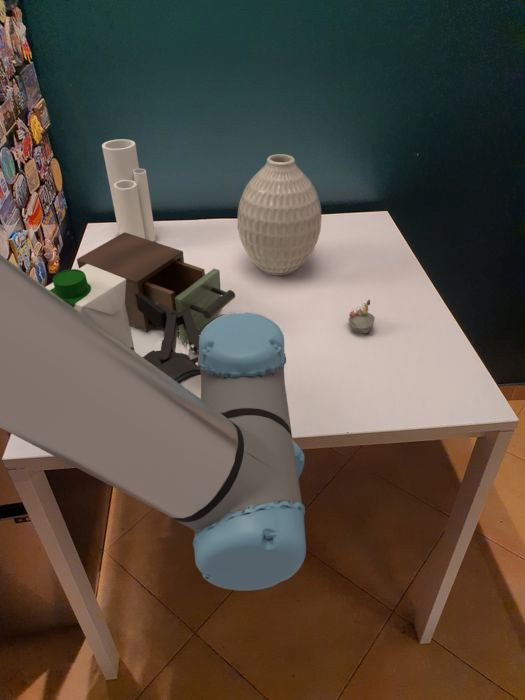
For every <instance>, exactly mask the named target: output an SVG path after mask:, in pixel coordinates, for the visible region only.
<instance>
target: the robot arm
mask: <svg viewBox="0 0 525 700" xmlns="http://www.w3.org/2000/svg"><path fill="white" fill-rule="evenodd" d="M135 296H136V301H137V307H138V310H139V311H140V312H142V313H143V314H144V315H146V316H147V317H148V318H149V319H151V320H152V321H153V322H155V323H156V326H158V327H159V328H161V329H162V330H164V333H163V339H162V340H161V344H160V350H154V349H153V350H151V351H149V352H147V353H146V354H145V355H144V356H141V355H140V354H139V353H137V352H136V350H135V351H133V350H132V349H130V348H129V347H128V346H126V345H125V344H123V343H122V342H121V341H119V340H118V339H116V338H115V337H114V336H112V335H111V334H110V333H108V332H107V331H105V330H104V329H103V328H101V327H100V326H98V325H97V324H96V323H94V322H93V321H91V320H90V319H89V318H87V317H86V316H85V315H83V314H82V313H80V312H79V311H78V310H76V309H75V308H73V307H72V306H71V305H69V304H68V303H66V302H65V301H64V300H62V299H61V298H60V297H58V296H57V295H55V294H54V293H53V292H51V291H50V290H48V289H47V288H46V286H44V285H43V284H42V283H40V282H39V281H38V280H36V279H35V278H33V277H32V276H30V275H29V274H28V273H26V272H25V271H23V269H21V268H19V267H18V266H16V265H15V264H14V263H12V262H11V261H9V260H8V259H7V258H5V257H4V256H3V255H1V254H0V429H2V430H4V431H5V432H7V433H9V434H11V435H14V436H15V437H16V438H19V439H21V440H23V441H24V442H26V443H28V444H30V445H32V446H34V447H36V448H38V449H40V450H41V451H44V452H46V453H48V454H49V455H51V456H54V457H55V458H57V459H59V460H61V461H63V462H65V463H67V464H68V465H70V466H73V467H74V468H76V469H78V470H80V471H82V472H84V473H85V474H87V475H89V476H91V477H93V478H95V479H97V480H99V481H101V482H102V483H104V484H107V485H109V486H111V487H112V488H114V489H116V490H118V491H120V492H122V493H124V494H126V495H128V496H129V497H132V498H134V499H136V500H137V501H140V502H141V503H143V504H145V505H147V506H149V507H151V508H153V509H154V510H157V511H158V512H161V513H162V514H164V515H166V516H167V517H170V518H171V519H173V520H175V521H176V522H177V523H179V524H182V525H183V526H185V527H187V528H189V529H191V530H192V531H193V532H194V537H193V540H192V548H193V550H194V563H195V566H196V568H197V569H198V571H199V572H200V573H201V576H202V578H203V579H204V580H205V581H207V582H208V583H210V584H211V585H213V586H216V587H219V588H222V589H225V590H231V591H238V592H239V591H240V592H241V591H243V592H244V591H245V592H246V591H257V590H263V589H267V588H271V587H274V586H276V585H277V584H279V583H281V582H284V581H287V580H288V579H291V577H293V576H294V575H295V574H296V573H297V572H298V571H299V570H300V569H301V567H302V566H303V563H304V562H305V559H306V554H307V541H306V528H305V527H306V526H305V514H306V508H305V504H303V501H302V494H301V486H300V481H299V479H300V477H301V474H302V472H303V470H304V467H305V462H306V460H305V459H306V458H305V453H304V452H303V449H302V448H301V447H300V446H299V445H298V444H297V443H296V442H295V441H294V440H293V434H292V426H291V418H290V412H289V411H290V410H289V404H288V403H289V402H288V397H287V388H286V381H285V365H286V364H287V356H286V352H285V337H284V336H285V335H284V334H283V331H282V329H281V328H280V326H278V324H277V323H276V322H275V321H273V320H272V319H270V318H268V317H266V316H263V315H261V314H258V313H254V312H253V313H252V312H242V313H241V312H238V313H236V312H232V313H227V314H224V315H221V316H218V317H217V318H214V319H212V320H211V321H209V322H208V323H207V324H206V325H205V326H204V327H203V329H202V331H201V332H200V334H199V333H198V332H199V331H197V329H196V326H195V323H194V320H193V317H192V314H191V311H190V308H188V307H184V308H182V309H181V311H180V312H176V311H174V310H170V309H169V308H167V307H166V306H165V305H163V304H161V303H158V304H155V303H154V302H152V301H151V300H150V299H148V298H147V297H146V296H144V295H143V294H142V293H140V292H139V293H137V294H135ZM178 325H183V326H184V330H185V333H186V336H187V343H188V346H189V348H188V351H187V352H188V354H186V353H181V352H176V348H177V341H178V332H179V328H178Z"/></svg>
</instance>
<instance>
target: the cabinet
mask: <svg viewBox="0 0 525 700" xmlns="http://www.w3.org/2000/svg"><path fill="white" fill-rule="evenodd" d="M184 258H185V257H184V251H183V250H180V249H177V248H175V247H171V246H168V245H165V244H162V243H159V242H156V241H150V240H147V239H144V238H141V237H138V236H135V235H132V234H129V233H125V232H124V233H122V234H120V235H119V234H118V235H117V236H115V237H113V238H111V239H110V240H108V241H107V242H104V243H103V244H101V245H99V246H97V247H96V248H94V249H92V250H90V251H88V252H87V253H85V254H83V255H81V256H80V257H78V258H76V262H77V266H78V269H79V268H81V267H83V266H84V265H86V264H89V265H92V266H94V267H97V268H99V269H102V270H104V271H107V272H109V273H112V274H115V275H117V276H120V277H122V278H125V279H126V291H125V306H126V311H127V316H128V321H129V326H130V327H133V328H135V329H138V330H140V331H142V332H144V333H148V332H150V330H152V329H153V328H154V327H155V326H157V324H154V323H152V322H149V321H148V317H147V316H146V315H144V314H143V313H142V312H140V311H139V310H138V307H137V301H136V296H135V294H137V293H139V292H140V293H142V294H143V288H142V283H144V282H145V281H147V280H148V279H150V278H151V277H152V276H154V275H155V274H157V273H158V272H160V271H161V270H163V269H164V268H166V267H167V266H169V265H170V264H172V263H173V262H175V261H176V260H178V261H181V262H184V263H185V259H184ZM143 295H144V294H143Z"/></svg>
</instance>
